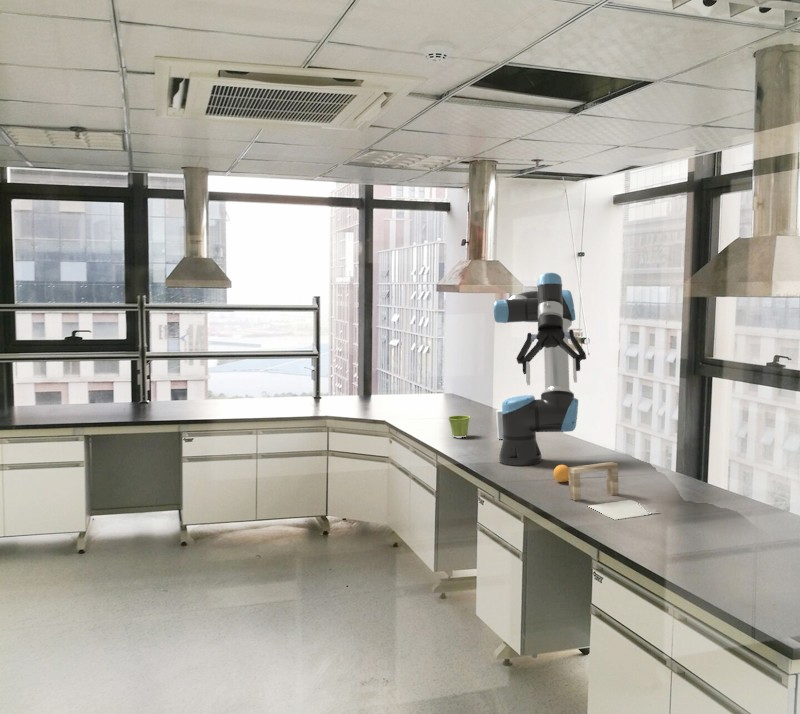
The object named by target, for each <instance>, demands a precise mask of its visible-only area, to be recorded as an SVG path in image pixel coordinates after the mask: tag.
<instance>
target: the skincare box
mask: <svg viewBox="0 0 800 714" xmlns="http://www.w3.org/2000/svg"><path fill="white" fill-rule="evenodd" d="M495 414H496V415H495V416H496V419H495V420H496V432H497V433H496V434H497V439H498V438H499V439H503V419H502V409H495ZM499 439H498V440H499Z"/></svg>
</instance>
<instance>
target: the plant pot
mask: <svg viewBox="0 0 800 714" xmlns="http://www.w3.org/2000/svg"><path fill="white" fill-rule="evenodd" d="M447 419H448V421H449V424H450V428H451V434H452V436H453V435H454V436H465V435H467V436H468V432H469V430H468V429H469V422H470V419H471V416H470V415H466V414H465V415H464V414H462V415H461V414H460V415H452V416H449V417H447Z"/></svg>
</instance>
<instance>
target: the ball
mask: <svg viewBox="0 0 800 714" xmlns="http://www.w3.org/2000/svg"><path fill="white" fill-rule="evenodd" d="M568 468H569V467H568V466H567V465H565V464H559V465H556V466H555V468H554V469H553V473H552V474H553V478H554V479H555V480H556V481H558V482H559V483H566V482H569V471H568Z"/></svg>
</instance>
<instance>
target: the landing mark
mask: <svg viewBox="0 0 800 714" xmlns="http://www.w3.org/2000/svg"><path fill="white" fill-rule="evenodd" d="M638 503H639V502H637V501H635V500H633V499H627V500H619V501H613V502H611V501H610V502H605V503H604V502H603V503H598V504H590V505H587V506H588V507H587V508H589V507H590V508H589V509H591V508H592V509H591V510H593V509H594V510H593V511H595V510H596V511H595V512H597V511H598V512H597V513H599V512H600V513H599V514H601V513H602V515H603V516H605V517H608V518H609V517H610V518H609V519H611V518H612V519H611V520H613V519H614V520H613V521H618V519H619V520H624V519H625V518H626V519H630V518H638V517H644V515H646V516H649V515H648V513H649V512H647V511H648V510H647V511H646V510H645V509H644V508H643V507H642V506H641V505H640V504H641V503H639V505H640V506H639V505H638ZM641 507H642V508H641ZM649 514H651V512H650V513H649Z"/></svg>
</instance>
